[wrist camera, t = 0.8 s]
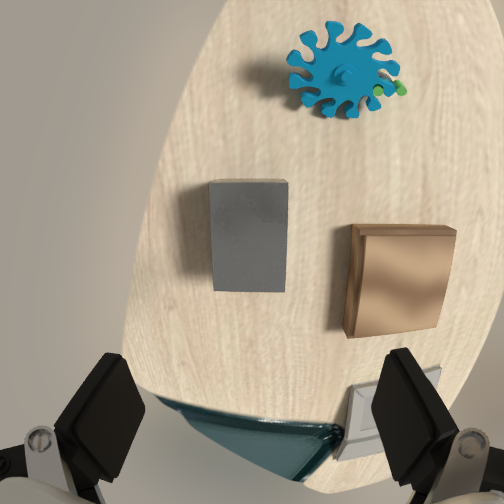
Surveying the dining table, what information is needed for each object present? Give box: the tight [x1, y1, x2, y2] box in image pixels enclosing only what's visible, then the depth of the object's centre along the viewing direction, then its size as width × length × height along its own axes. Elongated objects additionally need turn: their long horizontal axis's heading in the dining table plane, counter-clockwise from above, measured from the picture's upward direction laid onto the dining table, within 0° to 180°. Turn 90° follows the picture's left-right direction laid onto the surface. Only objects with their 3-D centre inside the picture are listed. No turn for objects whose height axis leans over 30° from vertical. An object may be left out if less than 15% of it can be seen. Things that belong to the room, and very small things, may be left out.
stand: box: [343, 224, 457, 339], centre depth 26 cm, size 12×12×3 cm
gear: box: [286, 21, 407, 118], centre depth 19 cm, size 11×6×10 cm
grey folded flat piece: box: [335, 364, 442, 462], centre depth 35 cm, size 23×15×4 cm, turn 6°
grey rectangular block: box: [209, 179, 288, 292], centre depth 24 cm, size 9×6×6 cm, turn 0°
